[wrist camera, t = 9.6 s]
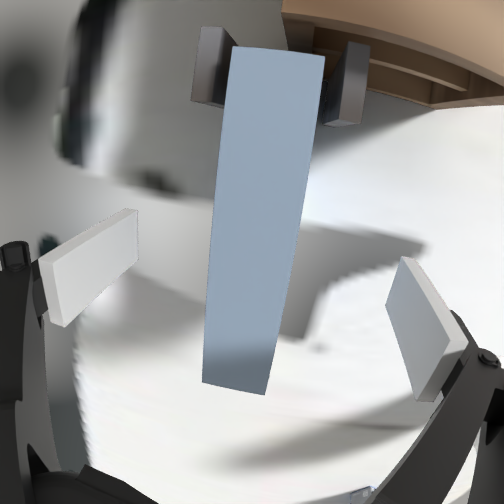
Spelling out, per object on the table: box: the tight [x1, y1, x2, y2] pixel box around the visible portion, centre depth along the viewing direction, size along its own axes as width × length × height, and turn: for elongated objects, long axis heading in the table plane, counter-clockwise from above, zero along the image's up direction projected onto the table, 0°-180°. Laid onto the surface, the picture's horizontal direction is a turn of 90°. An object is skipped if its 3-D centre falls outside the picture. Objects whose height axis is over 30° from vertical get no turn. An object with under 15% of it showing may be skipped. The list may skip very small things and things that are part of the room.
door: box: [202, 46, 325, 395], centre depth 17 cm, size 14×3×11 cm, turn 173°
